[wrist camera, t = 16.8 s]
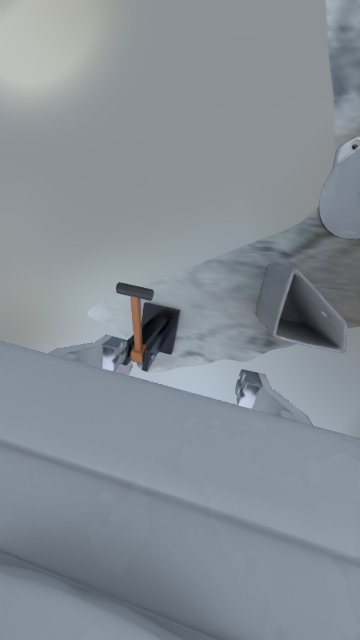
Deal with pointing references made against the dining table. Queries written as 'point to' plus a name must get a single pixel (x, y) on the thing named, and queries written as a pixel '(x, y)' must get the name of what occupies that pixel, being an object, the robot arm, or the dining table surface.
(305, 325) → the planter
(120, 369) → the smoothie
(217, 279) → the dining table surface
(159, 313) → the bracket
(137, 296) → the lever
